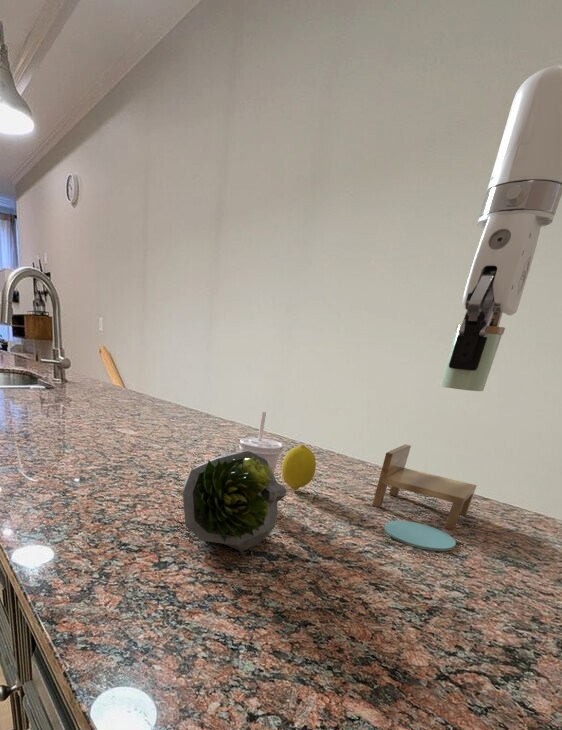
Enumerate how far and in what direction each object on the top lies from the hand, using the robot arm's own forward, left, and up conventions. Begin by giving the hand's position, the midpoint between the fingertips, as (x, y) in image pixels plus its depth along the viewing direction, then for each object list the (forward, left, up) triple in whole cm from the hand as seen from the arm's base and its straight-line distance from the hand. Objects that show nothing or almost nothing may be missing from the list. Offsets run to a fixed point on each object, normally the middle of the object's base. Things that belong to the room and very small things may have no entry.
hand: (467, 367), depth 60 cm
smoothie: (+20, +15, -23) cm, 34 cm away
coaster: (-2, +6, -22) cm, 23 cm away
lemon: (+19, +3, -23) cm, 30 cm away
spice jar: (0, 0, -3) cm, 3 cm away
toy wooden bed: (+1, -6, -22) cm, 23 cm away
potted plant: (+14, +29, -23) cm, 40 cm away
